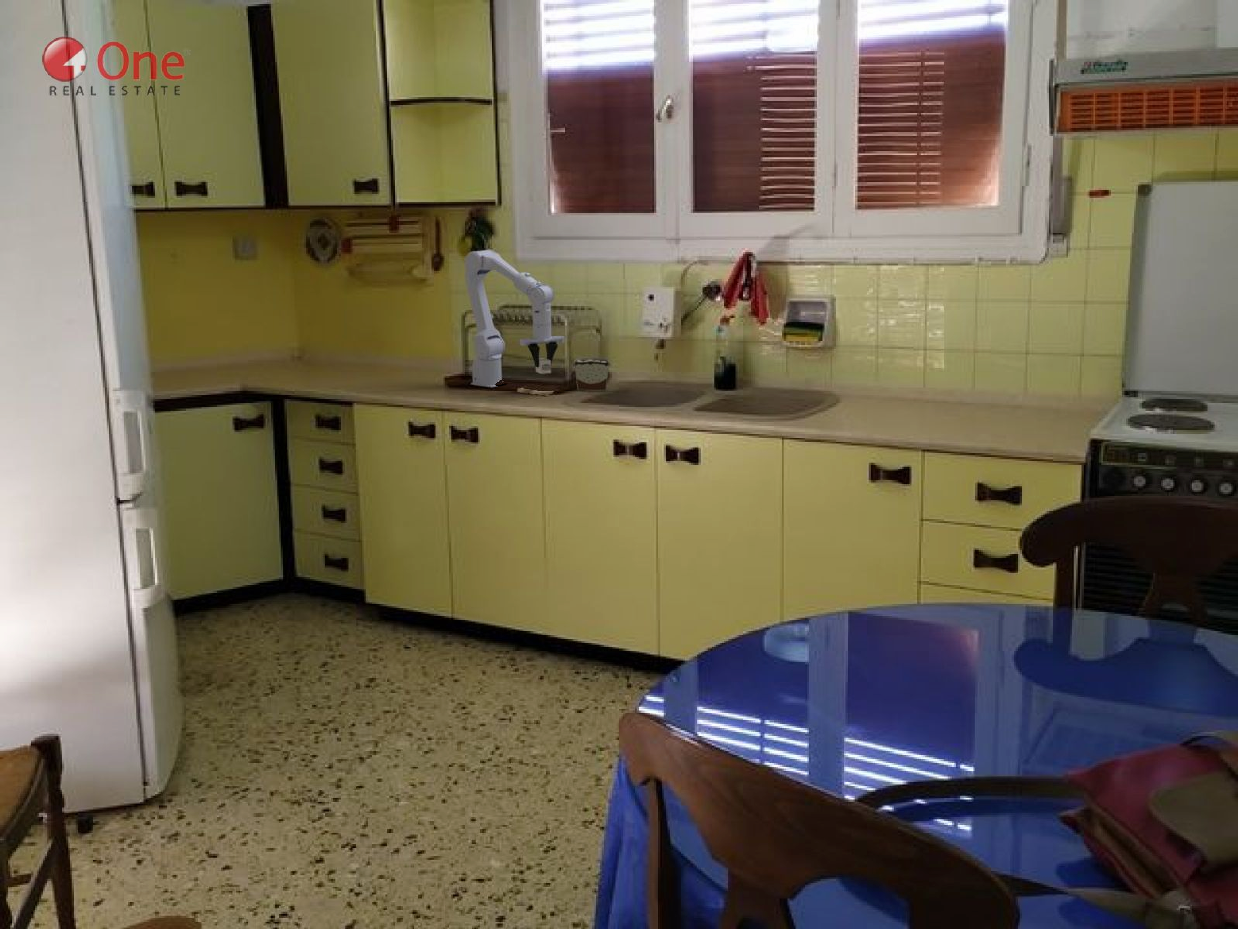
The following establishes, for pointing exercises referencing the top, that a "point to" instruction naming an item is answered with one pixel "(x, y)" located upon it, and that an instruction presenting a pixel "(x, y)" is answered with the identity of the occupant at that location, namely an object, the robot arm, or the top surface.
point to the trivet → (534, 391)
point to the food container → (591, 373)
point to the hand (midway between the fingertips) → (543, 366)
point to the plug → (544, 366)
